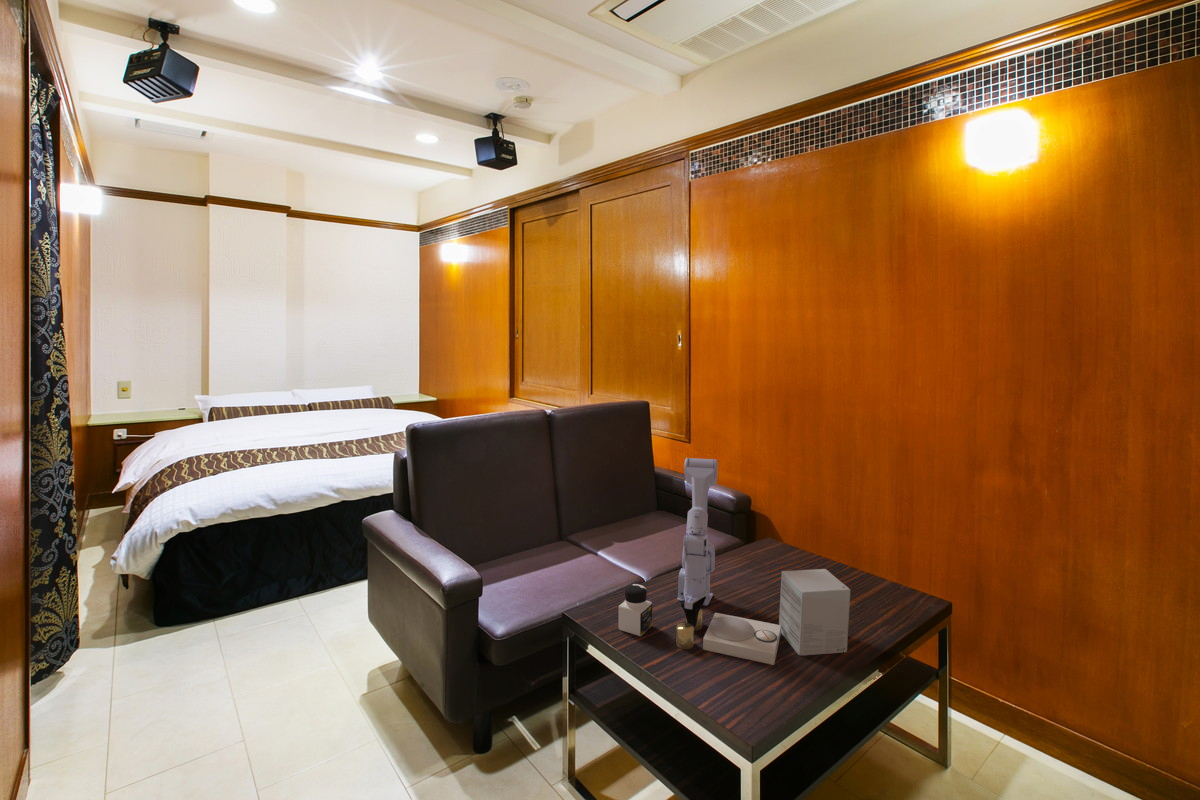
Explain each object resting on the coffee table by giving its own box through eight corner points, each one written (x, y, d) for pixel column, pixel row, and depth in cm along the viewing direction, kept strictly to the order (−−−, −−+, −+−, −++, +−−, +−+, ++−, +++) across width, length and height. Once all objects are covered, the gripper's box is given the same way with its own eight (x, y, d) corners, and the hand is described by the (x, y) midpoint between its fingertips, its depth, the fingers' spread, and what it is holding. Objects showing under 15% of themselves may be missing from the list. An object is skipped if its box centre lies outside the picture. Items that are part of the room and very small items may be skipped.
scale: (702, 649, 153) (703, 636, 153) (714, 622, 167) (715, 610, 166) (774, 665, 146) (774, 651, 146) (780, 635, 160) (780, 623, 160)
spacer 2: (684, 628, 164) (684, 611, 163) (688, 621, 168) (688, 604, 167) (699, 632, 162) (700, 615, 161) (703, 624, 166) (704, 607, 165)
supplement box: (822, 626, 165) (825, 567, 162) (847, 653, 152) (851, 589, 149) (777, 629, 163) (780, 570, 161) (799, 656, 150) (802, 592, 148)
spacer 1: (674, 647, 154) (674, 629, 154) (678, 638, 159) (679, 621, 158) (690, 650, 153) (691, 632, 152) (695, 642, 157) (695, 624, 156)
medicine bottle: (640, 637, 159) (641, 595, 158) (618, 629, 163) (618, 589, 161) (652, 625, 165) (653, 585, 164) (630, 618, 169) (630, 579, 167)
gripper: (703, 589, 155) (702, 637, 156) (714, 568, 168) (713, 612, 170) (677, 584, 157) (676, 632, 159) (690, 564, 171) (689, 608, 172)
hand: (694, 621), depth 165 cm, fingers closed on spacer 2, 4 cm apart
